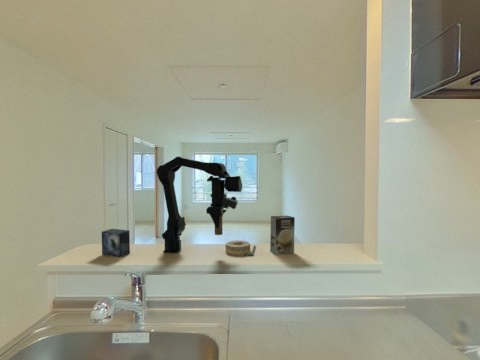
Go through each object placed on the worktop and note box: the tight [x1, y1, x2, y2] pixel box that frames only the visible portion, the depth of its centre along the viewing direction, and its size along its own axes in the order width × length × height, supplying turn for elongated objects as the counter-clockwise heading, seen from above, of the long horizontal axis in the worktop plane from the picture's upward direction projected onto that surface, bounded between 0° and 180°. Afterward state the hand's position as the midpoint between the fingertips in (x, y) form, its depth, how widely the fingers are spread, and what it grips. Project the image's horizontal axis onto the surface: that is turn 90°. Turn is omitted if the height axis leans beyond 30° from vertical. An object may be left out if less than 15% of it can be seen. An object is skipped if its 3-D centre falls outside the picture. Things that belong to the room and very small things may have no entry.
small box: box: [101, 228, 131, 258], centre depth 124 cm, size 11×6×10 cm, turn 68°
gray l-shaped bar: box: [243, 245, 256, 257], centre depth 129 cm, size 4×14×1 cm, turn 173°
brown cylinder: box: [214, 215, 223, 236], centre depth 123 cm, size 3×3×10 cm
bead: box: [225, 240, 251, 256], centre depth 129 cm, size 11×11×4 cm
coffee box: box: [269, 215, 296, 256], centre depth 127 cm, size 9×6×16 cm
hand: (218, 227), depth 123 cm, fingers closed on brown cylinder, 3 cm apart
